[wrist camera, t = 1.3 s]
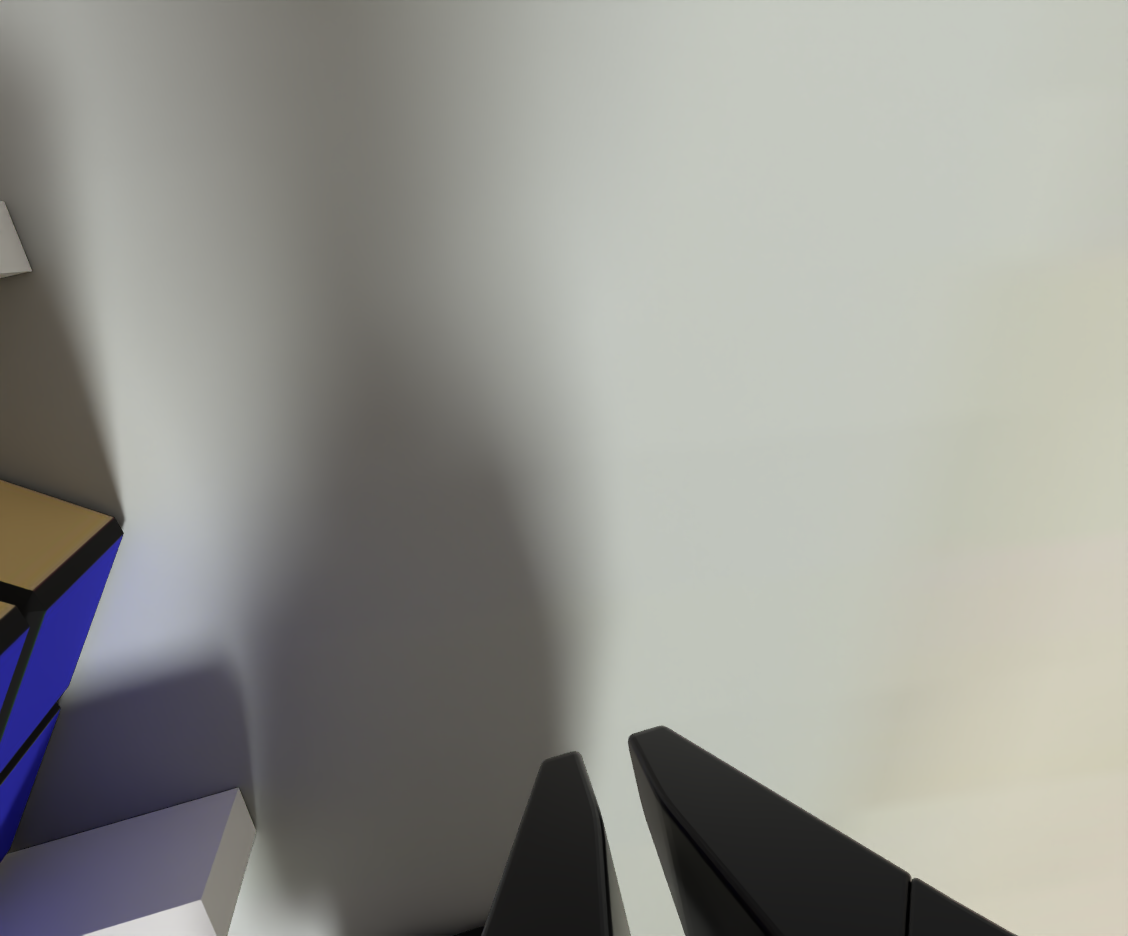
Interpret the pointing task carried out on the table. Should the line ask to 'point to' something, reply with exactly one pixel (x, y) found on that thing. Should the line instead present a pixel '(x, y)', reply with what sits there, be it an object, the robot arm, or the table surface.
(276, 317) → the table surface
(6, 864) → the trap channel
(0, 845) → the puzzle cube
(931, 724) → the table surface
